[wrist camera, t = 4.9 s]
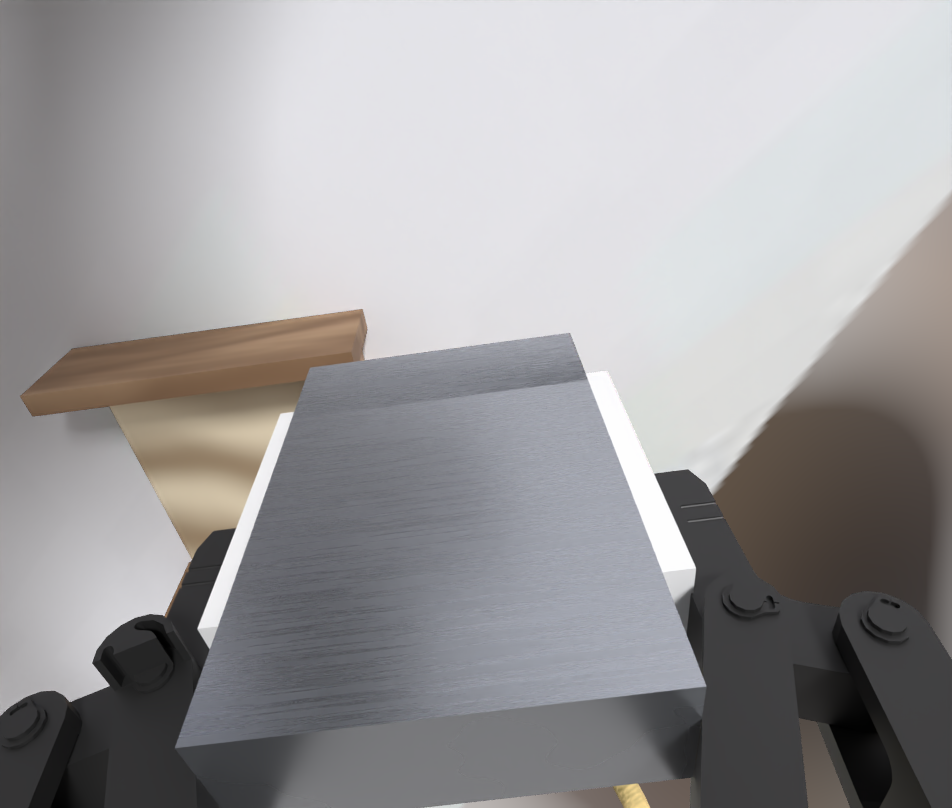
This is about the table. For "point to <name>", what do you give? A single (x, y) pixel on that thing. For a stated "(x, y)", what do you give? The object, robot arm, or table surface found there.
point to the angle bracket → (445, 599)
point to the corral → (201, 405)
